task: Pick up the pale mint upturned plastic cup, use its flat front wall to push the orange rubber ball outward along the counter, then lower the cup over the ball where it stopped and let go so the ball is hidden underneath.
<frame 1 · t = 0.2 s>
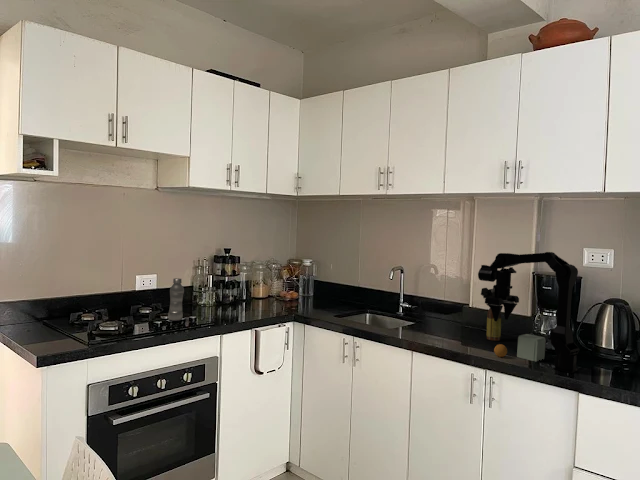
hand: (501, 320, 206), 14 cm above the worktop, tool pointing down, fingers open, 9 cm apart
sauce bottle: (492, 340, 234), on the worktop
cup: (530, 357, 202), on the worktop
plastic bottle: (175, 321, 234), on the worktop
ball: (500, 350, 201), on the worktop
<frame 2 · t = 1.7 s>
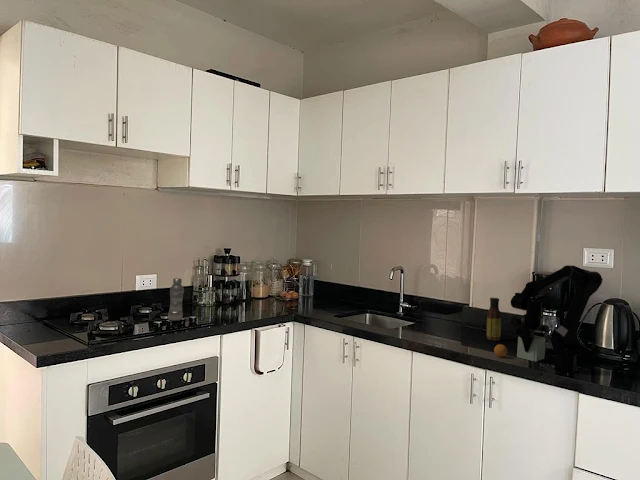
hand: (531, 350, 202), 3 cm above the worktop, tool pointing down, fingers closed on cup, 8 cm apart
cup: (530, 357, 202), on the worktop, touching gripper
everything else where it was.
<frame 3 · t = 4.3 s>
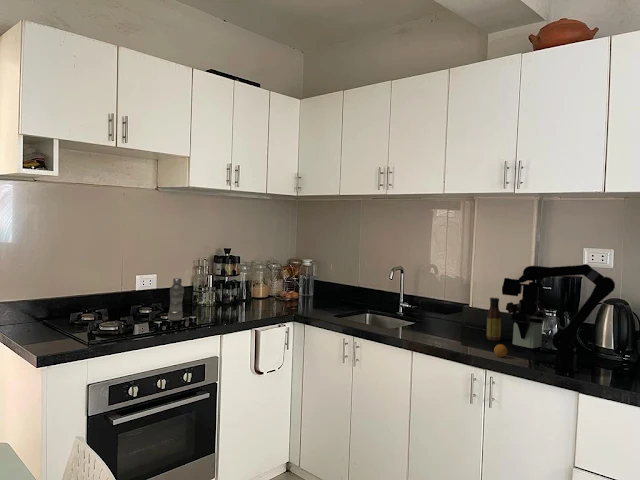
hand: (527, 337, 193), 10 cm above the worktop, tool pointing down, fingers closed on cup, 8 cm apart
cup: (526, 345, 194), point 7 cm above the worktop, touching gripper
everything else where it was.
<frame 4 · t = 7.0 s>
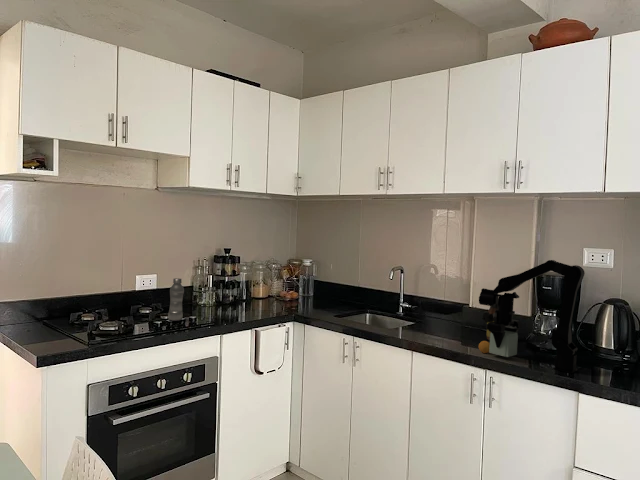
hand: (502, 346, 201), 4 cm above the worktop, tool pointing down, fingers closed on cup, 8 cm apart
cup: (502, 353, 201), point 2 cm above the worktop, touching gripper
ball: (484, 346, 206), on the worktop
everything else where it was.
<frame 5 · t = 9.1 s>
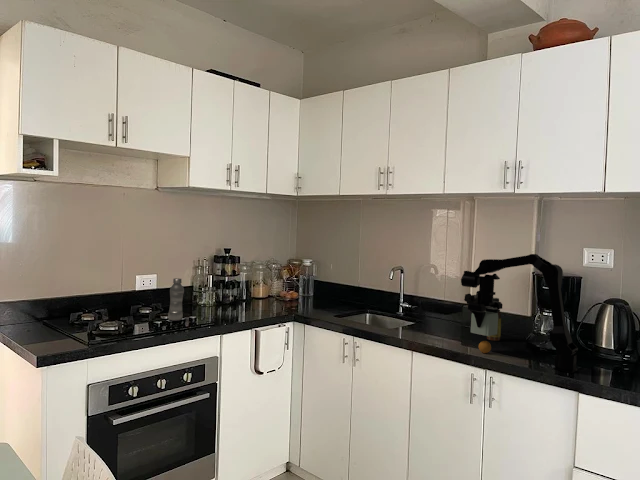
hand: (483, 326, 207), 11 cm above the worktop, tool pointing down, fingers closed on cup, 8 cm apart
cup: (483, 333, 207), point 8 cm above the worktop, touching gripper
everything else where it was.
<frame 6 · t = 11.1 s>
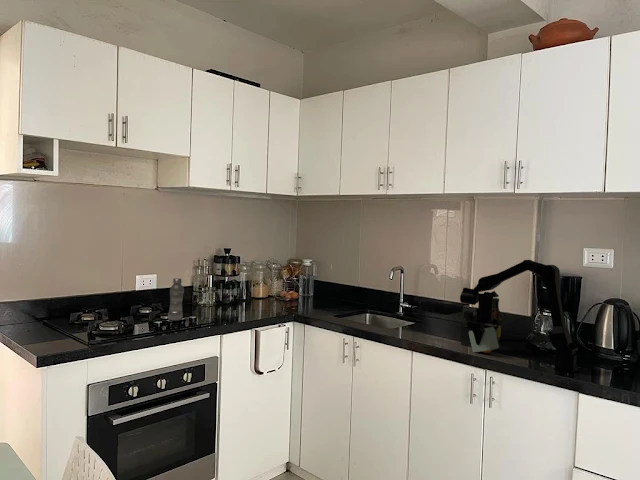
hand: (482, 343, 207), 4 cm above the worktop, tool pointing down, fingers closed on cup, 8 cm apart
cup: (486, 350, 206), point 1 cm above the worktop, tilted 19°, touching gripper
when the fingers open (4 cm above the worktop, at t = 11.7 s): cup drops 1 cm, on the worktop.
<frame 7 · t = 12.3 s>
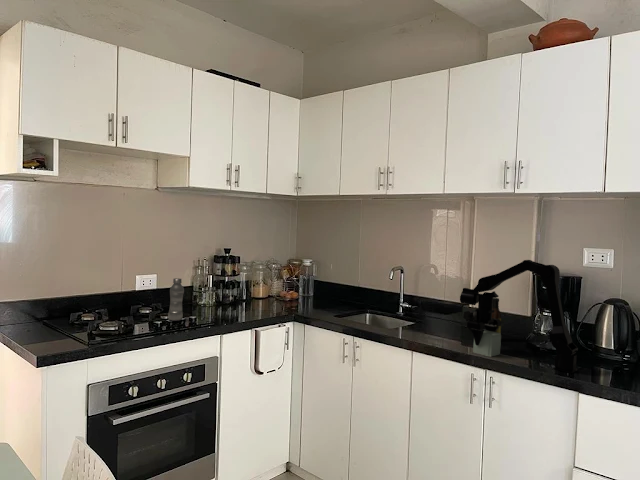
hand: (482, 343, 207), 4 cm above the worktop, tool pointing down, fingers open, 9 cm apart
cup: (486, 353, 206), on the worktop
everything else where it was.
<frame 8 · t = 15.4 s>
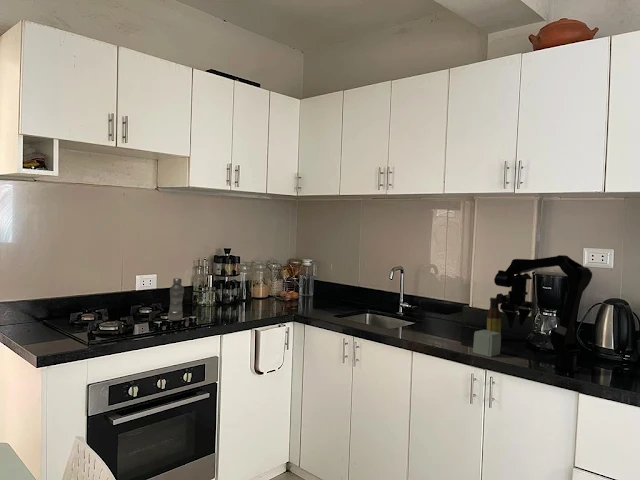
hand: (516, 326, 205), 12 cm above the worktop, tool pointing down, fingers open, 9 cm apart
nothing on the worktop moved.
at the end: ball 0.1 cm from the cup (horizontally); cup on the worktop; ball moved 6.2 cm from its start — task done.
